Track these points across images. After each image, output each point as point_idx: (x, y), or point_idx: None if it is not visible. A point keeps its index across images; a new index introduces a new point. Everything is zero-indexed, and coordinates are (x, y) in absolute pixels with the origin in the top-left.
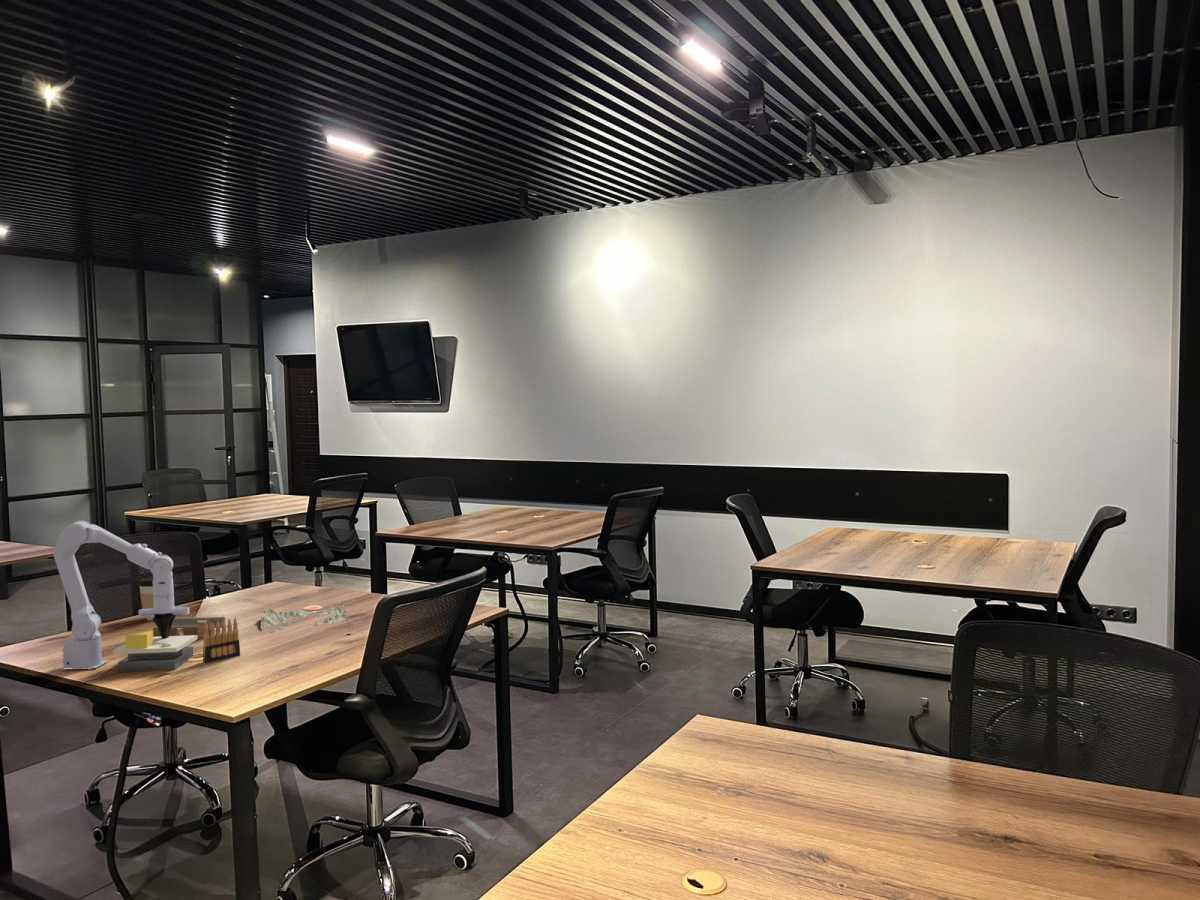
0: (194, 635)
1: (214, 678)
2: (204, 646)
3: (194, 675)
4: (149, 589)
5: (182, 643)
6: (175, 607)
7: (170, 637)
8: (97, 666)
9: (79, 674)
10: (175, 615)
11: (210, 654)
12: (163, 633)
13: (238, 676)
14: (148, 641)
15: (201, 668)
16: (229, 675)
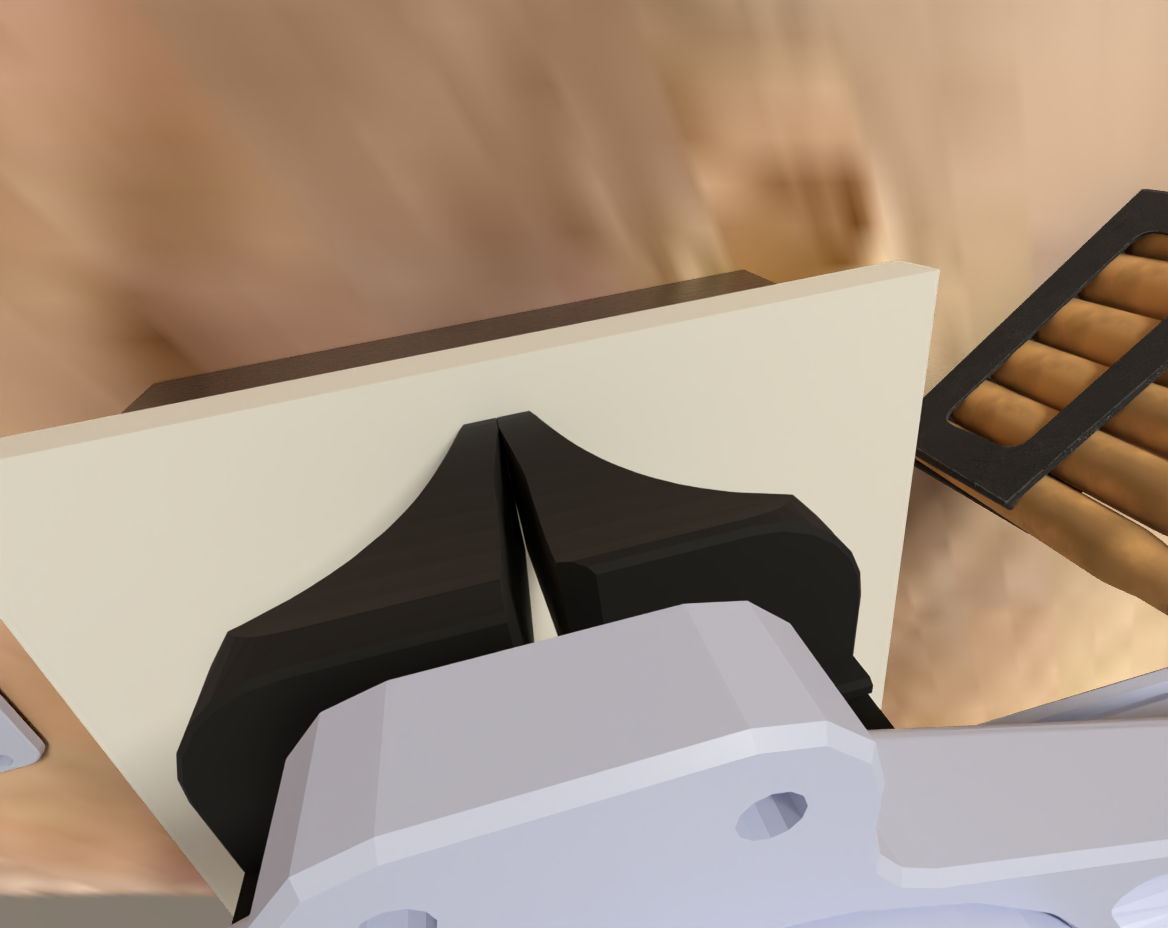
0: (901, 289)
1: (1012, 693)
2: (1018, 526)
3: (900, 680)
4: None
5: (872, 671)
6: (1112, 852)
7: (580, 440)
8: (17, 733)
9: (41, 833)
10: (834, 578)
11: (987, 439)
12: (526, 565)
13: (1123, 648)
14: None
15: (910, 572)
16: (1081, 644)
